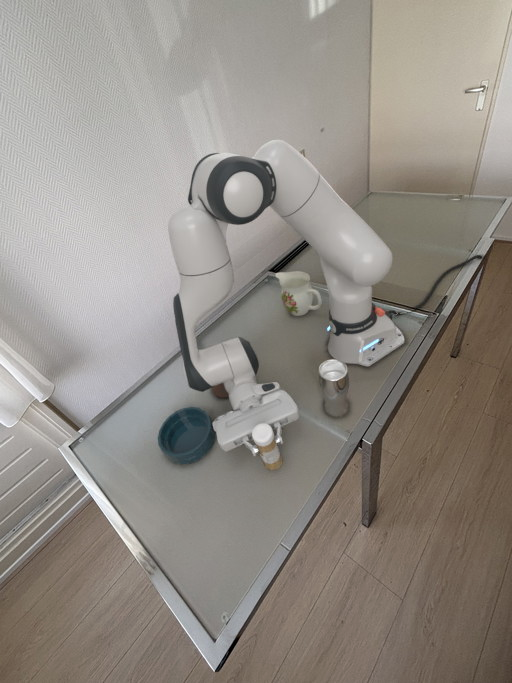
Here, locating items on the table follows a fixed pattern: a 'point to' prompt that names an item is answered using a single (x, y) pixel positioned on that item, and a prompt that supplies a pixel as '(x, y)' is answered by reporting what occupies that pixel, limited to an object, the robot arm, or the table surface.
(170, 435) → the bowl
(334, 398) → the silver metal tumbler
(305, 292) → the pitcher
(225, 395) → the coaster
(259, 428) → the sprinkles bottle
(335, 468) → the table surface
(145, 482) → the table surface
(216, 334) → the table surface
